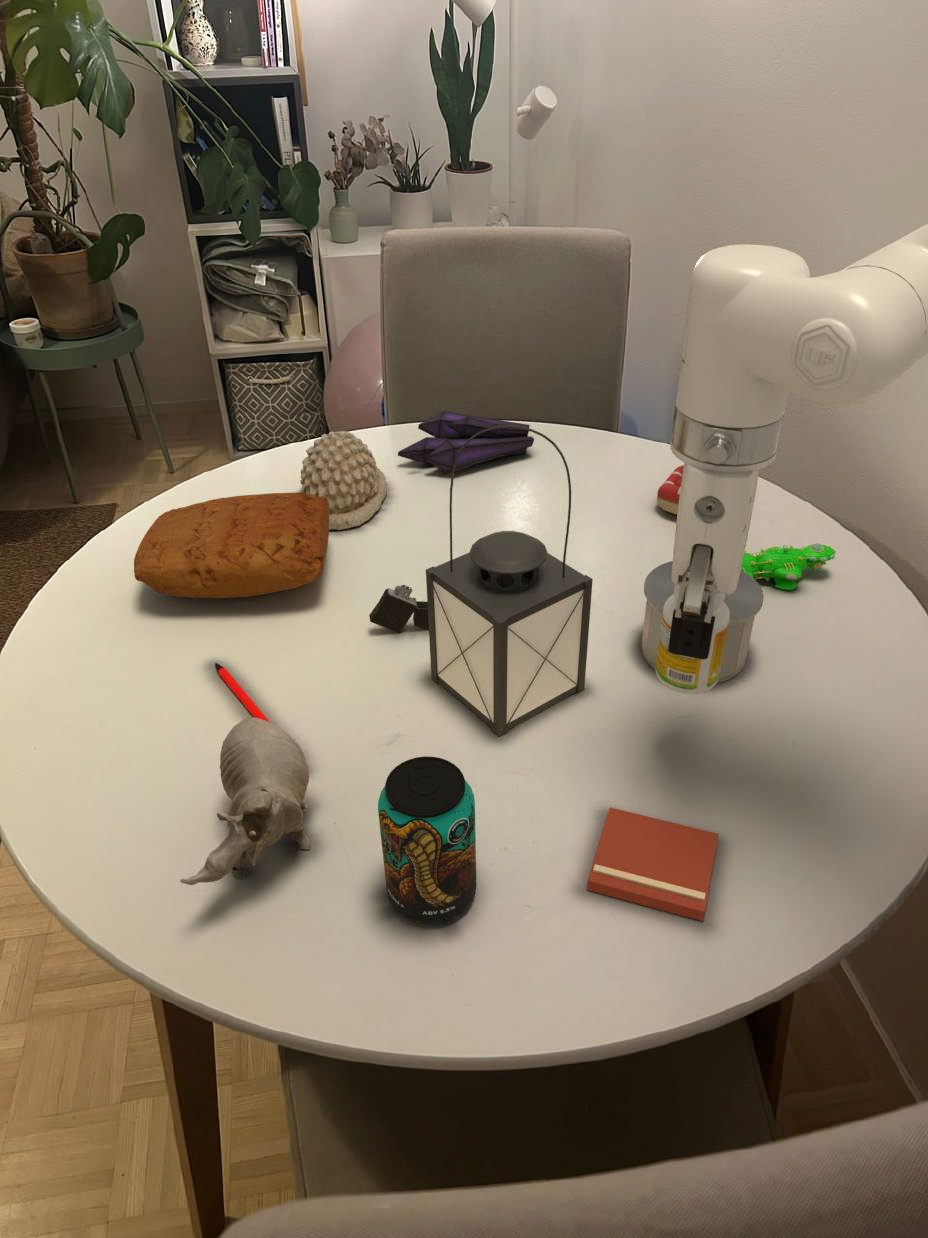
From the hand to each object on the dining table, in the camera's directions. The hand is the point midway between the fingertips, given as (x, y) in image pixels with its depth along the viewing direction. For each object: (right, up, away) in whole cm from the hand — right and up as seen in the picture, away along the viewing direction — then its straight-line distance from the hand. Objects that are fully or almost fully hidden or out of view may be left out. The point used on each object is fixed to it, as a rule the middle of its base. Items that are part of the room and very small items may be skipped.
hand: (693, 630), depth 76 cm
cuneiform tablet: (-46, +6, +33) cm, 57 cm away
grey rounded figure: (-36, -18, 0) cm, 40 cm away
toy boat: (+11, +16, +45) cm, 49 cm away
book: (-4, -19, -3) cm, 20 cm away
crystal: (-19, +24, +57) cm, 65 cm away
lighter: (-25, 0, +24) cm, 35 cm away
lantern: (-15, -6, +16) cm, 23 cm away
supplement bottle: (0, -4, +3) cm, 5 cm away
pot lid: (+5, +4, +15) cm, 16 cm away
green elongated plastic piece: (+15, +5, +30) cm, 34 cm away
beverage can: (-22, -21, -4) cm, 30 cm away
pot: (+5, -3, +20) cm, 20 cm away
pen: (-40, -9, +13) cm, 43 cm away
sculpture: (-36, +17, +48) cm, 62 cm away
